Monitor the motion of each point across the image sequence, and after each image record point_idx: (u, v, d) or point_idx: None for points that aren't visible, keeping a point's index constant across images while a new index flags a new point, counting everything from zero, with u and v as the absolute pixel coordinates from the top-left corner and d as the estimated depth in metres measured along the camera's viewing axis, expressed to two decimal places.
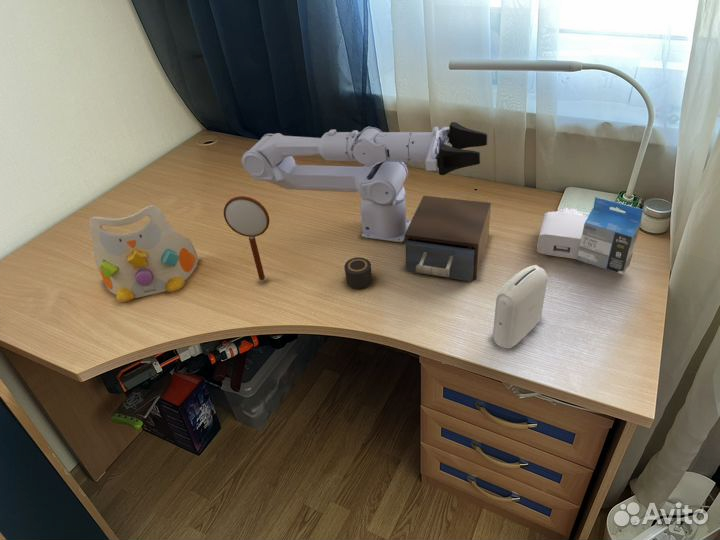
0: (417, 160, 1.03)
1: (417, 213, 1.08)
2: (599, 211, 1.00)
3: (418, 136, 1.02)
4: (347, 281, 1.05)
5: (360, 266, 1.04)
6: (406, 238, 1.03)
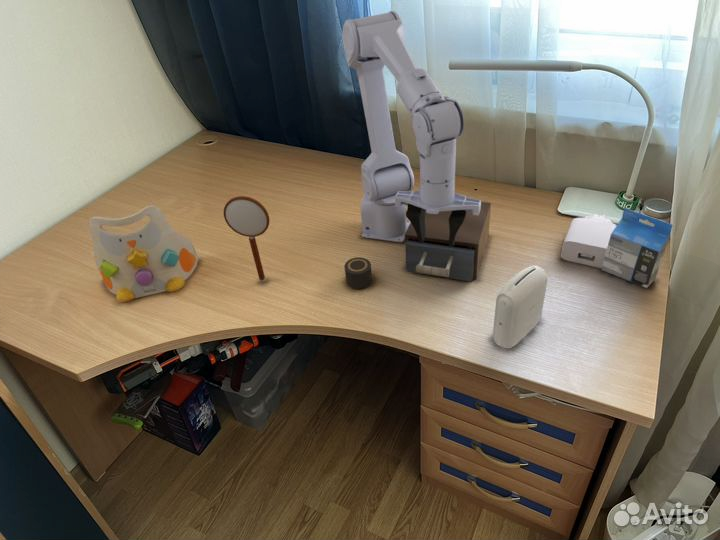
0: None
1: None
2: (627, 223, 0.98)
3: (428, 191, 0.88)
4: (347, 281, 1.05)
5: (360, 266, 1.04)
6: (406, 238, 1.03)
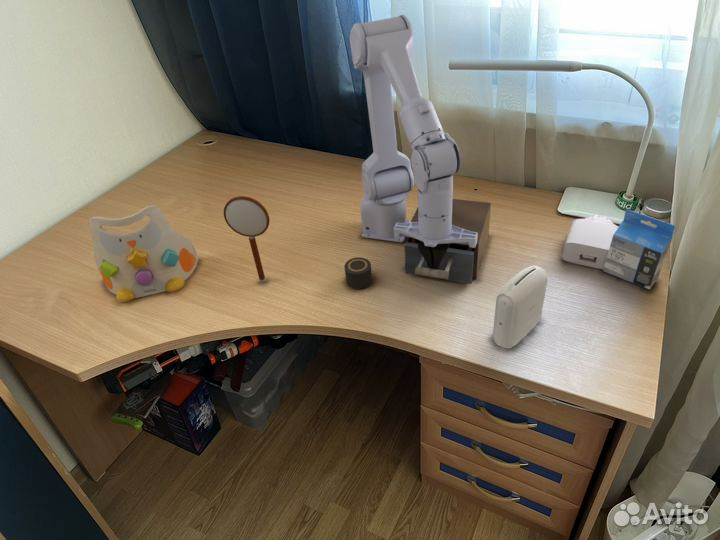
0: None
1: (417, 213, 1.08)
2: (629, 224, 0.98)
3: (426, 224, 0.90)
4: (347, 281, 1.05)
5: (360, 266, 1.04)
6: (406, 238, 1.03)
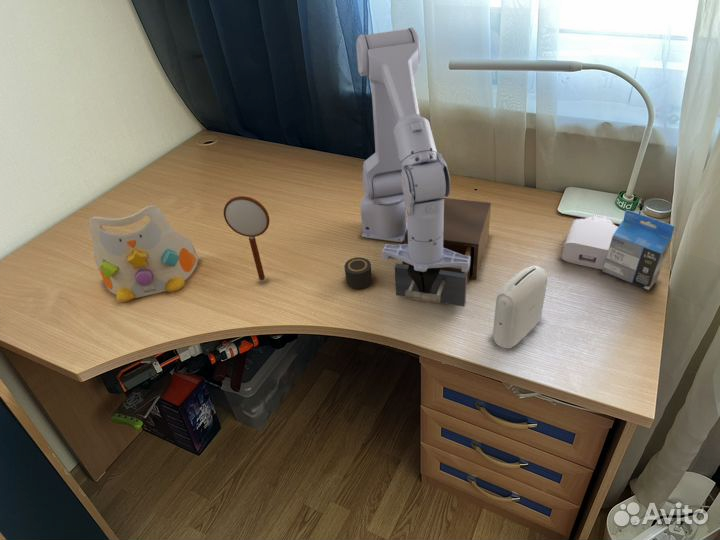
0: None
1: None
2: (629, 224, 0.98)
3: (416, 248, 0.86)
4: (347, 281, 1.05)
5: (360, 266, 1.04)
6: (406, 238, 1.03)
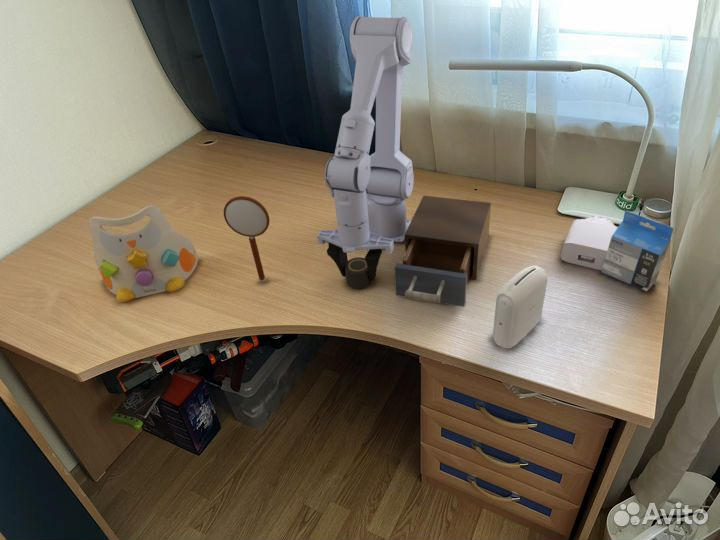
0: None
1: (417, 213, 1.08)
2: (628, 225, 0.97)
3: (343, 232, 0.97)
4: (347, 281, 1.05)
5: (361, 266, 1.04)
6: (406, 238, 1.03)
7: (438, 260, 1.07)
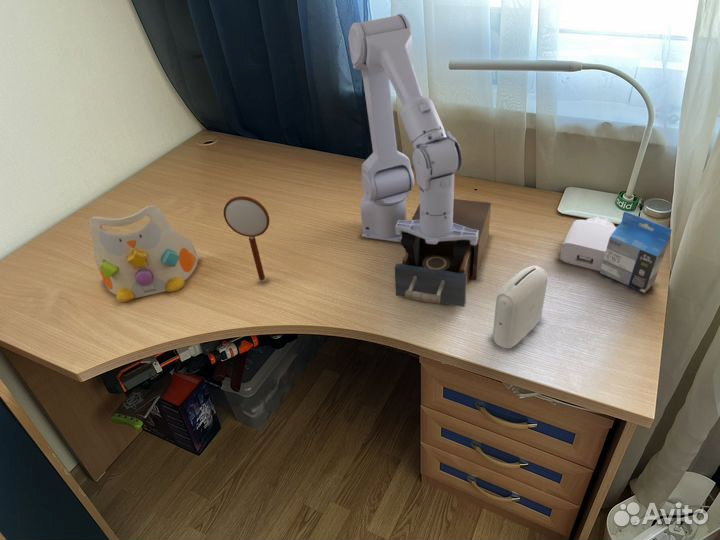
0: None
1: (417, 213, 1.08)
2: (627, 226, 0.97)
3: (428, 222, 0.91)
4: None
5: (439, 264, 0.99)
6: None
7: None
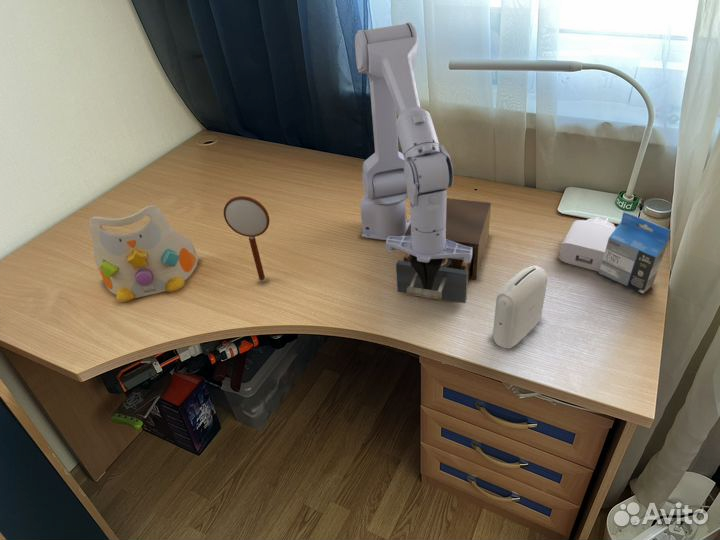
0: None
1: None
2: (626, 227, 0.97)
3: (419, 239, 0.87)
4: None
5: None
6: None
7: None
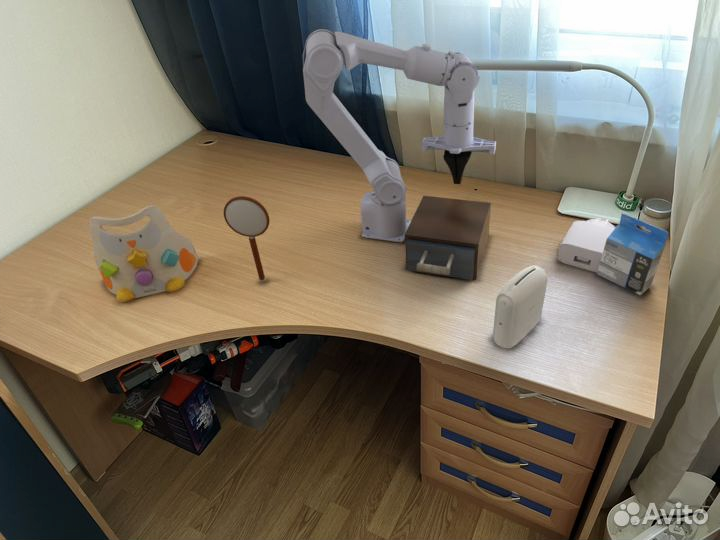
0: None
1: (417, 213, 1.08)
2: (624, 228, 0.97)
3: (451, 133, 1.04)
4: None
5: None
6: (406, 238, 1.03)
7: None
